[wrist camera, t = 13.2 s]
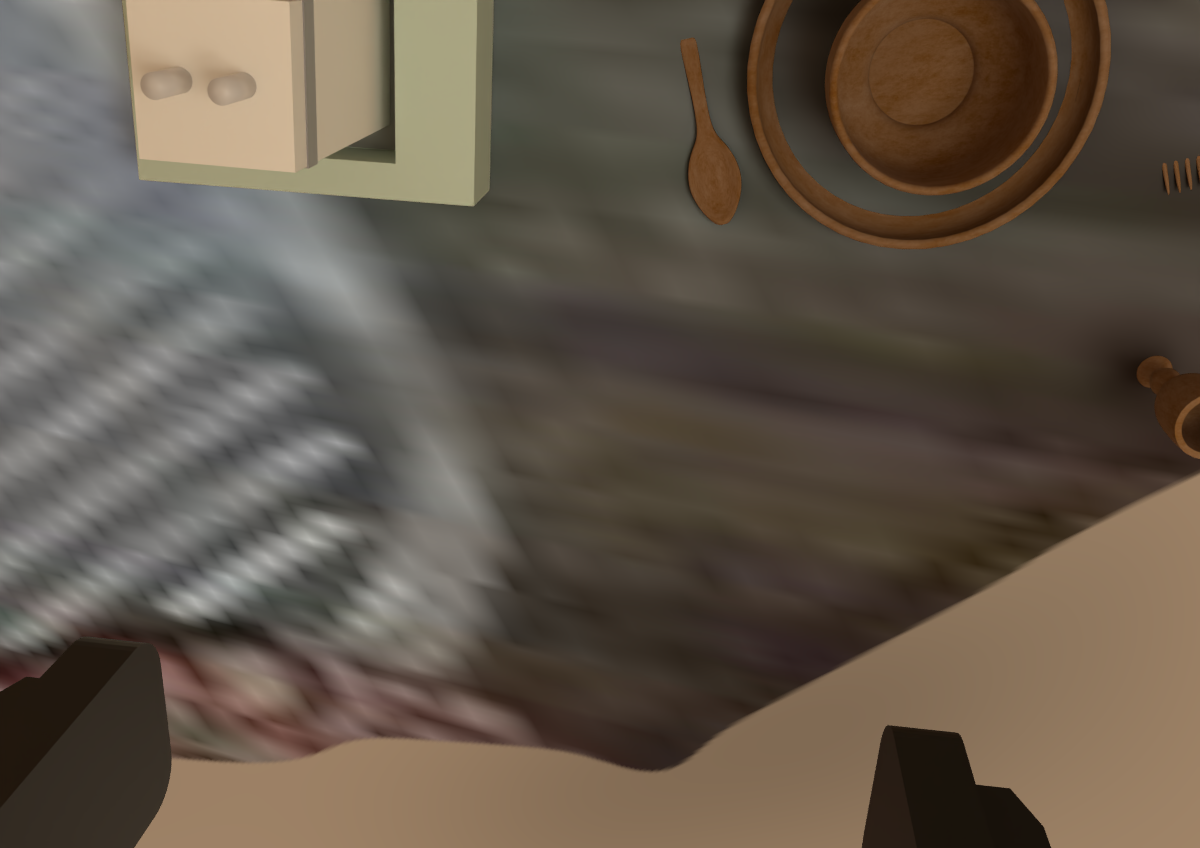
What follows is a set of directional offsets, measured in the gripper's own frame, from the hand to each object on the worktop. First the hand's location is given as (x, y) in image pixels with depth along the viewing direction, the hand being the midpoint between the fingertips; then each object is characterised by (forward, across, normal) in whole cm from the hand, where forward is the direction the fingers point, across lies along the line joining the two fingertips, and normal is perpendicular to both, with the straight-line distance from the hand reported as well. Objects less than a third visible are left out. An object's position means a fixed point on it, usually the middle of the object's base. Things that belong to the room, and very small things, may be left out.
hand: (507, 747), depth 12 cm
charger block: (+31, +12, -4) cm, 33 cm away
